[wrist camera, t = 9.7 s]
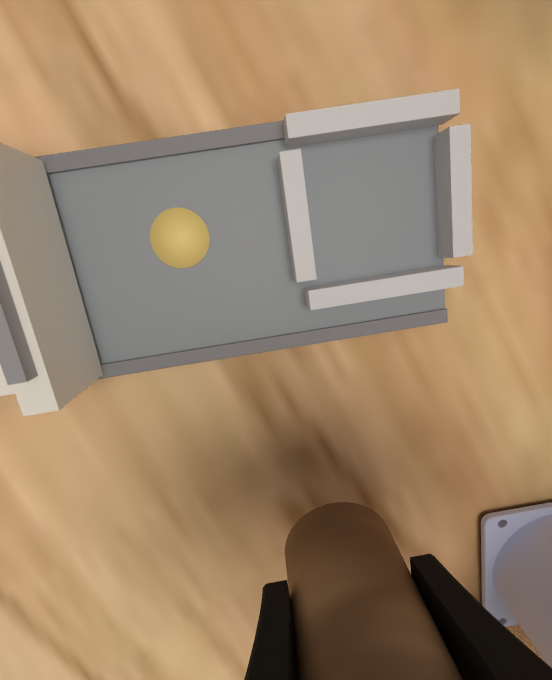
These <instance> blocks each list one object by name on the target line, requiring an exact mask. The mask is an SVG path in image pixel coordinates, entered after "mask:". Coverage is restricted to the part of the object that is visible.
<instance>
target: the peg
mask: <svg viewBox="0 0 552 680" xmlns="http://www.w3.org/2000/svg"><path fill="white" fill-rule="evenodd" d="M285 559H286V568H287V577H288V587H289V594H290V600H291V609H292V618H293V627H294V638H295V651H296V660H297V669H298V678H299V680H463V679H462V677H461V675H460V673H459V671H458V669H457V667H456V665H455V663H454V661H453V659H452V657H451V655H450V653H449V651H448V648H447V646H446V644H445V642H444V640H443V638H442V636H441V634H440V632H439V630H438V628H437V626H436V624H435V622H434V620H433V618H432V616H431V614H430V612H429V610H428V608H427V606H426V604H425V602H424V600H423V598H422V596H421V594H420V592H419V590H418V588H417V586H416V584H415V582H414V580H413V578H412V576H411V573H410V571H409V569H408V567H407V565H406V563H405V561H404V559H403V557H402V555H401V553H400V551H399V549H398V547H397V545H396V543H395V541H394V539H393V537H392V535H391V533H390V531H389V529H388V527H387V525H386V523H385V522H384V520H383V519H382V518H381V517H380V516H379V515H378V514H377V513H376V512H374V511H373V510H371V509H369V508H367V507H365V506H362V505H359V504H355V503H348V502H338V503H331V504H327V505H324V506H321V507H318V508H316V509H314V510H312V511H310V512H309V513H307V514H306V515H304V516H303V517H302V518H301V519H300V520H299V521H298V522H297V523H296V524H295V525H294V527H293V528H292V530H291V531H290V533H289V535H288V538H287V541H286V545H285Z"/></svg>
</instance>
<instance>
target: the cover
mask: <svg viewBox="0 0 552 680" xmlns="http://www.w3.org/2000/svg"><path fill="white" fill-rule="evenodd" d="M102 375H103V372H102V368H101V365H100V361H99V357H98V354H97V350H96V347H95V343H94V340H93V336H92V333H91V329H90V326H89V322H88V319H87V315H86V312H85V308H84V305H83V301H82V297H81V294H80V290H79V287H78V283H77V280H76V276H75V273H74V269H73V266H72V262H71V259H70V255H69V252H68V248H67V244H66V241H65V237H64V234H63V230H62V227H61V223H60V220H59V216H58V213H57V209H56V206H55V202H54V199H53V195H52V192H51V188H50V184H49V181H48V177H47V174H46V170H45V167H44V163H43V161H42V160H40V159H37V158H35V157H33V156H30V155H28V154H26V153H23V152H21V151H19V150H17V149H14V148H12V147H10V146H7V145H5V144H3V143H0V396H4V395H10V394H16V397H17V400H18V403H19V406H20V409H21V411H22V414H23V416H28V415H34V414H40V413H46V412H52V411H58V410H60V409H61V408H63V407H64V406H65V405H66V404H67V403H69V402H70V401H71V400H72V399H74V398H75V397H76V396H77V395H78V394H80V393H81V392H82V391H83V390H85V389H86V388H87V387H88V386H89V385H91V384H92V383H93V382H94V381H96V380H97V379H98V378H99V377H100V376H102Z"/></svg>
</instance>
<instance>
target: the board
mask: <svg viewBox="0 0 552 680" xmlns="http://www.w3.org/2000/svg"><path fill="white" fill-rule="evenodd" d="M459 113H460V104H459V89H453V90H446V91H440V92H433V93H426V94H419V95H412V96H405V97H399V98H392V99H385V100H378V101H371V102H364V103H357V104H351V105H344V106H337V107H330V108H323V109H316V110H309V111H303V112H296V113H289V114H285V118H284V121H278V122H271V123H264V124H257V125H250V126H243V127H237V128H230V129H223V130H216V131H209V132H202V133H196V134H189V135H182V136H175V137H168V138H161V139H155V140H148V141H141V142H134V143H127V144H120V145H114V146H107V147H100V148H93V149H86V150H79V151H73V152H66V153H59V154H52V155H45V156H38V157H35V158H37V159H40V160H42V161H43V163H44V167H45V170H46V174H47V177H48V181H49V184H50V188H51V192H52V195H53V199H54V202H55V206H56V209H57V213H58V216H59V220H60V223H61V227H62V230H63V234H64V237H65V241H66V244H67V248H68V252H69V255H70V259H71V262H72V266H73V269H74V273H75V276H76V280H77V283H78V287H79V290H80V294H81V297H82V301H83V305H84V308H85V312H86V315H87V319H88V322H89V326H90V329H91V333H92V336H93V340H94V343H95V347H96V350H97V354H98V357H99V361H100V365H101V368H102V372H103V375H102V376H100V377H99V378H98V379H101V378H107V377H113V376H119V375H125V374H132V373H138V372H144V371H150V370H156V369H162V368H168V367H175V366H181V365H187V364H193V363H199V362H205V361H211V360H218V359H224V358H230V357H236V356H242V355H248V354H255V353H261V352H267V351H273V350H279V349H285V348H291V347H298V346H304V345H310V344H316V343H322V342H328V341H334V340H341V339H347V338H353V337H359V336H365V335H371V334H378V333H384V332H390V331H396V330H402V329H408V328H414V327H421V326H427V325H433V324H439V323H445V322H448V319H447V309H445V299H444V289H447V288H453V287H459V286H464V278H463V266H452V265H446V266H443V257H444V258H455V257H461V256H468V255H473V246H472V186H471V126H470V124H464V125H457V126H450V127H448V128H447V129H445V130H443V131H442V132H440V133H438V125H442V124H444V123H446V122H447V121H449V120H450V119H452V118H453V117H455V116H456V115H458V114H459Z"/></svg>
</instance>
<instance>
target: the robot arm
mask: <svg viewBox="0 0 552 680" xmlns="http://www.w3.org/2000/svg"><path fill="white" fill-rule="evenodd" d="M500 520H501V521H500ZM499 521H500V522H499ZM410 564H411V576H412V578H413V580H414V582H415V584H416V586H417V588H418V590H419V592H420V594H421V596H422V598H423V600H424V602H425V604H426V606H427V608H428V610H429V612H430V614H431V616H432V618H433V620H434V622H435V624H436V626H437V628H438V630H439V632H440V634H441V636H442V638H443V640H444V642H445V644H446V646H447V648H448V651H449V653H450V655H451V657H452V659H453V661H454V663H455V665H456V667H457V669H458V671H459V673H460V675H461V677H462V679H463V680H552V502H550V503H544V504H538V505H533V506H527V507H521V508H516V509H510V510H504V511H499V512H493V513H488V514H486V515H484V516H483V518H482V520H481V564H482V605H481V604H480V603H479V602H478V601H477V600H476V599H475V598H474V597H473V596H472V595H471V594H470V593H469V592H468V591H467V590H466V589H465V588H464V587H463V586H462V585H461V584H460V583H459V582H458V581H457V580H456V579H455V578H454V577H453V576H452V575H451V574H450V573H449V572H448V571H447V569H446V568H445V567H444V566H443V565H442V564H441V563H440V562H439V561H438V560H437V559H436V558H435V557H434V556H433V555H432V554H426V555H421V556H415V557H410ZM514 625H519V626H520V628H521V629H522V631H523V632H524V633H525V635H526V636H527V638H528V639H529V640H530V642H531V643H532V645H533V646H534V648H535V649H536V650H537V652H538V653H539V655H540V656H541V657H542V659H543V660H544V661H543V660H542V659H541V658H540V657H538V656H537V655H536V654H535V653H534V652H533V651H531V650H530V649H529V648H528V647H527V646H526V645H525V644H523V643H522V642H521V641H520V640H519V639H518V638H517V637H516V636H514V635H513V634H512V633H511V632H510V631H509V630H508V629H507V628H506V627H508V626H514ZM244 680H299V678H298V669H297V660H296V651H295V638H294V627H293V618H292V609H291V600H290V594H289V589H288V583H287V580H284V581H279V582H274V583H268V584H266V585H265V586H264V587H263V594H262V602H261V609H260V615H259V620H258V625H257V630H256V635H255V640H254V644H253V648H252V652H251V656H250V660H249V664H248V668H247V672H246V676H245V679H244Z"/></svg>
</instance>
